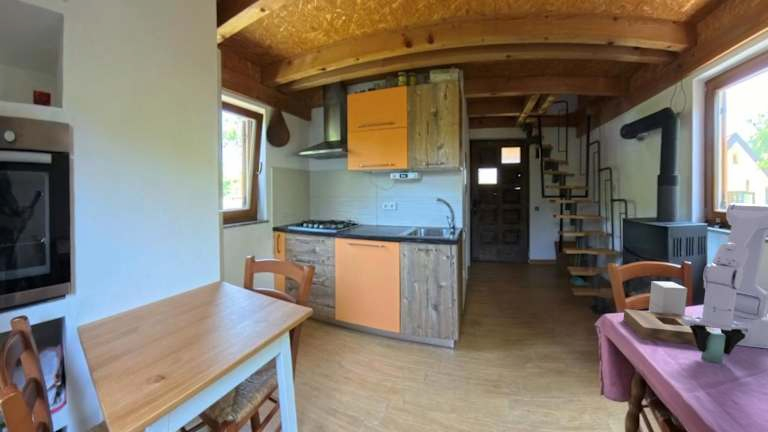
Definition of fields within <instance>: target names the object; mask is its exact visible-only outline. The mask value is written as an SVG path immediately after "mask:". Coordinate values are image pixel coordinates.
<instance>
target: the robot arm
mask: <svg viewBox="0 0 768 432" xmlns="http://www.w3.org/2000/svg"><path fill="white" fill-rule="evenodd" d="M725 216H726V221H727V222H728V225H730V226H731V229H730V231H729V235H728V238H727V242H726V243H722V244H720V245H719V246H718V249H717V251H716V252H715V255H714V258H713V259H712V261H711V264H706V266H705V267H704V270H703V273H702V274H703V275H702V278H703V279H702V280H703V289H705V292H704V300H703V307H702V314H701V315H702V316H694V317H682V323H683V324H684V325H686V326H689V327H690V328H691V330H692V332H693V334H694V337H695V340H696V345H695V346H696V348H697V350H699V351H700V352H705V350H706V343H707V340H708V337H709V335H710V334H711V333H710V332H709V331H707V329H706V328H705V327H711V328H712V329H720V331H717V330H716V331H717V332H720V333H723V334H724V335H726V338H725V345H724V353H723V354H724V355H726V356H730V355H731V353H732V351H733V349H735V347H736V346H742V347H744V346H745V347H750V348H751V347H752V348H761V349H767V350H768V318H767V316H768V292H767V291H766V290H765V289H763V288H762V287H760V286H759V284H758V282H759V276H760V270H761V265H762V259H763V254H764V250H765V249H764V248H765V243H766V239H767V238H768V204H756V203H755V204H754V203H748V204H747V203H736V202H731V203H730V204H729V205H728V206H727V209H726V213H725Z"/></svg>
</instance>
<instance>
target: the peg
mask: <svg viewBox="0 0 768 432" xmlns="http://www.w3.org/2000/svg"><path fill="white" fill-rule="evenodd" d="M707 331H709V332H710V333H711V334H710V335H709V337H708V340H707V343H706V350H705V352H702V353H701V358H702V359H703V360H705V361H707V362H709V363H713V364H719V365H720V364H723V359H724V354H725V353H724V345H725V338H726V335H724V334H723V333H720V332H721V331H719V332H717V330H715V331H713V330H707Z"/></svg>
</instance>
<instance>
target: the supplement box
mask: <svg viewBox="0 0 768 432" xmlns="http://www.w3.org/2000/svg"><path fill="white" fill-rule="evenodd" d="M687 293H688V288H687V287H685V286H683V285H680V284H678V283H676V282H674V281H655V280H654V281H652V280H651V282H650V293H649V306H648V312H649V311H650V312H658V313H669V314H679V315H686V314H685V313H686V303H687V295H688V294H687Z"/></svg>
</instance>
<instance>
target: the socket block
mask: <svg viewBox="0 0 768 432" xmlns="http://www.w3.org/2000/svg"><path fill="white" fill-rule="evenodd" d="M682 317H695V316H694V315H687V314H685V315H679V314H669V313H658V312H649V310H648V311H645V310H637V309H635V310H634V309H628V308H627V309H626V308H624V309H623V321H625V323H627V324H628V326H629V327H630V328H631V329H632V330H633V331H635V332H636V334H637V335H638V336H640V337H641V339H644V340H651V341H659V342H668V343H676V344H682V345H683V344H684V345H693V346H697V345H696V340H695V337H694V334H693V332H692V330H691V328H690V327H689V326H686V325H684V324H683V323H682ZM705 328H706V329H707V330H713V331H716V330H715V328H711V327H705Z"/></svg>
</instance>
